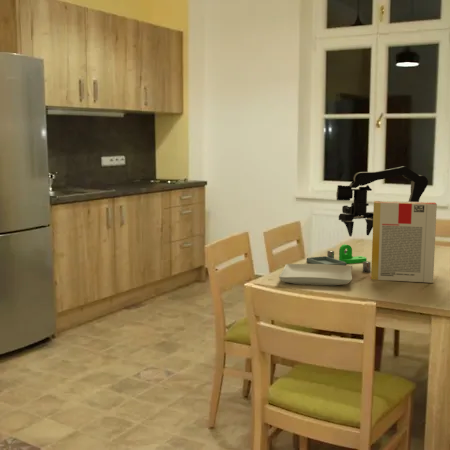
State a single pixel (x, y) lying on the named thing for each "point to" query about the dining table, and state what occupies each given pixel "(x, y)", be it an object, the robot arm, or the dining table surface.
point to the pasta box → (403, 241)
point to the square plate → (316, 274)
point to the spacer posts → (331, 253)
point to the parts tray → (325, 261)
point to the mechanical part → (349, 255)
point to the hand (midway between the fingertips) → (359, 235)
